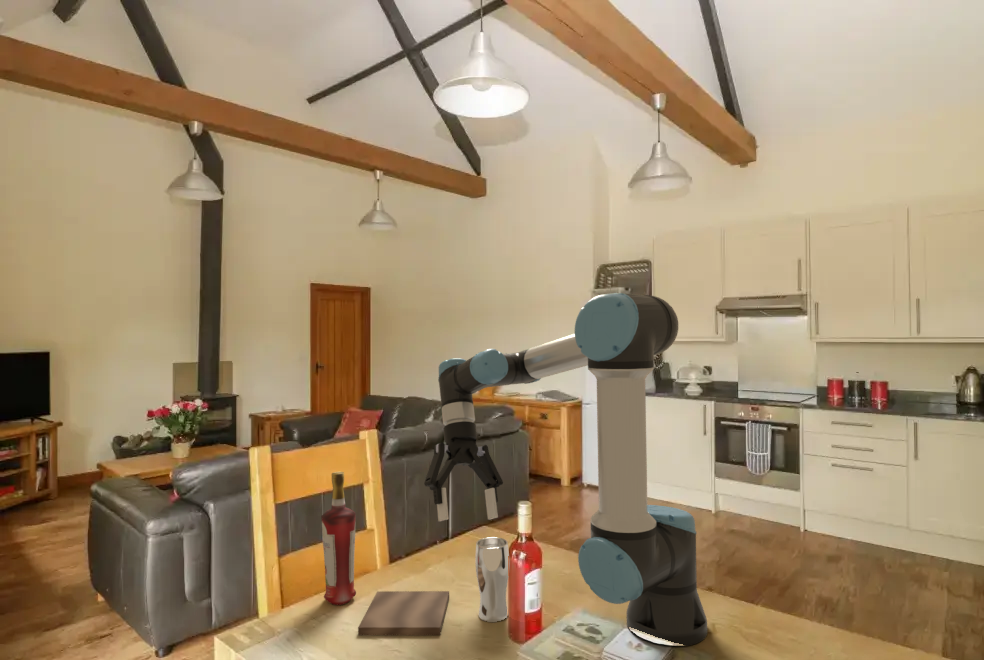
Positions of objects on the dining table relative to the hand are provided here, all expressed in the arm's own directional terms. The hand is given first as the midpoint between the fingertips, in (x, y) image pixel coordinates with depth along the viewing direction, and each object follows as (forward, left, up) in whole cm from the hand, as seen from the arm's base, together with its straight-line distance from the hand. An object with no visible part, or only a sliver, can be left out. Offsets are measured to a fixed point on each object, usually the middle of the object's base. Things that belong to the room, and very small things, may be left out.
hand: (469, 519), depth 129 cm
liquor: (+29, 0, -18) cm, 34 cm away
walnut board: (+13, +7, -18) cm, 23 cm away
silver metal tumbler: (-5, +7, -18) cm, 20 cm away
